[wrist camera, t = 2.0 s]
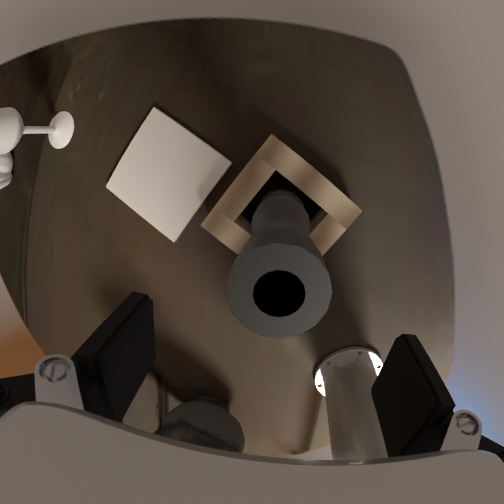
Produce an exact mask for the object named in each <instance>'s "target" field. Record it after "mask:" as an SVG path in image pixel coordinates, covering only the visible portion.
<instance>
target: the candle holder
mask: <svg viewBox="0 0 504 504" xmlns="http://www.w3.org/2000/svg"><path fill="white" fill-rule="evenodd" d="M310 226H311V225H310V221H309V216H308V213H307V212H306V210H305V207H304V204H303V202H302V200H301V199H300V197H299V196H298V194H297V193H295V192H294V191H292V190H290V189H288V188H282V187H279V188H275V189H271V190H270V191H268V192H267V193H265V194H264V195H263V197H262V199H261V200H260V202H259V204H258V206H257V210H256V212H255V213H254V215H253V218H252V225H251V229H252V235H251V237H250V238H249V240H248V241H247V242H246V243H245V244H244V246H243V248H242V249H241V251H240V253H239V254H238V256H237V258H236V260H235V262H234V264H233V267H232V269H231V271H230V273H229V276H228V282H227V291H226V297H227V300H228V303H229V306H230V309H231V312H232V313H233V315H234V316H235V317H236V318H237V319H238V320H239V321H240V322H241V324H242V325H243V326H244V327H246V328H248V329H250V330H251V331H253V332H255V333H257V334H259V335H261V336H267V337H274V338H285V337H291V336H296V335H300V334H302V333H303V332H305V331H307V330H309V329H310V328H312V327H314V326H316V324H317V323H318V322H319V321H320V319H321V318H322V317H323V316H324V315H325V313H326V312H327V311H328V307H329V304H330V300H331V296H332V287H331V281H330V275H329V272H328V269H327V267H326V264H325V262H324V259H323V256H322V254H321V253H320V251H319V250H318V248H317V247H316V245H315V244H314V242H313V240H312V239H311V237H310V236H309V232H310Z"/></svg>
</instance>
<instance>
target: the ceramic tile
mask: <svg viewBox="0 0 504 504" xmlns="http://www.w3.org/2000/svg"><path fill="white" fill-rule="evenodd" d="M232 164H233V162H231V161H230V160H229V159H227V158H226V157H225V156H223V155H222V154H221V153H219V152H218V151H217V150H215V149H214V148H212V147H211V146H210V145H208V144H207V143H206V142H204V141H203V140H201V139H200V138H199V137H197V136H196V135H195V134H193V133H192V132H190V131H189V130H188V129H186V128H185V127H183V126H182V125H180V124H179V123H178V122H176V121H175V120H173V119H172V118H170V117H169V116H168V115H166V114H165V113H163V112H162V111H160V110H159V109H157V108H155V107H154V108H153V109H152V111H151V112H150V114H149V115H148V117H147V118H146V120H145V121H144V123H143V124H142V126H141V127H140V129H139V130H138V132H137V133H136V135H135V137H134V138H133V140H132V141H131V143H130V145H129V146H128V148H127V150H126V151H125V153H124V155H123V156H122V158H121V160H120V162H119V163H118V165H117V167H116V169H115V171H114V172H113V174H112V176H111V178H110V180H109V182H108V184H107V185H106V187H107V188H108V189H109V190H110V191H111V192H113V193H114V194H115V195H116V196H117V197H118V198H120V199H121V200H122V201H123V202H125V203H126V204H127V205H128V206H129V207H131V208H132V209H133V210H134V211H135V212H137V213H138V214H139V215H140V216H142V217H143V218H144V219H145V220H146V221H148V222H149V223H150V224H151V225H153V226H154V227H155V228H156V229H158V230H159V231H160V232H161V233H163V234H164V235H165V236H166V237H168V238H169V239H170V240H171V241H173V242H175V241H176V240H177V239H178V237H179V236H180V235H181V233H182V232H183V230H184V229H185V227H186V226H187V225H188V223H189V222H190V220H191V219H192V217H193V216H194V215H195V213H196V212H197V210H198V209H199V208H200V206H201V205H202V204H203V202H204V201H205V199H206V198H207V197H208V195H209V194H210V193H211V191H212V190H213V189H214V187H215V186H216V185H217V183H218V182H219V181H220V179H221V178H222V177H223V175H224V174H225V173H226V171H227V170H228V169H229V167H230V166H231V165H232Z"/></svg>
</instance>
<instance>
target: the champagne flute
mask: <svg viewBox="0 0 504 504" xmlns="http://www.w3.org/2000/svg"><path fill="white" fill-rule="evenodd" d="M73 131H74V121H73V118H72V116H71V115H70V113H68V112H66V111H62V112H60V113H58V114H57V115H56V116H55V117H54V118H53V119H52V121H51V123H50V126H24V125H23V121H22V118H21V116H20V114H19V113H18V112H17V111H16V110H15V109H14V108H11V107H9V108H0V154H6V153H8V152H10V151H11V150H12V149H13V148H14V147H15V146H16V145H17V143H18V142H19V140H20V138H21V136H22V134H34V133H48V135H49V141H50V143H51V145H52V146H53V147H54V148H57V149H60V148H63V147H65V146H66V145H67V144H68V143H69V141H70V140H71V137H72V135H73Z"/></svg>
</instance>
